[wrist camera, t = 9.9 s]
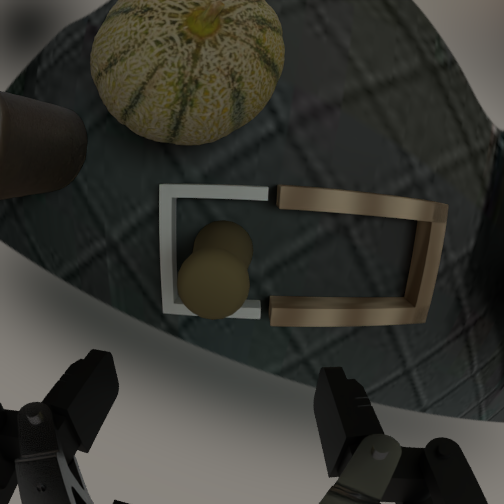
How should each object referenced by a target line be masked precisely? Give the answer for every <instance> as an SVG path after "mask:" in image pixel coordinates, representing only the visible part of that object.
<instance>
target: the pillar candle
mask: <svg viewBox="0 0 504 504" xmlns="http://www.w3.org/2000/svg"><path fill="white" fill-rule="evenodd" d="M86 150H87V133H86V129H85V126H84V123H83V121H82V120H81V118H80V117H79V116H78V114H77V113H75V112H74V111H72V110H70V109H67V108H64V107H60V106H57V105H53V104H49V103H45V102H42V101H38V100H34V99H30V98H26V97H23V96H18V95H14V94H10V93H6V92H1V91H0V200H3V199H8V198H14V197H21V196H26V195H32V194H39V193H45V192H52V191H55V190H59V189H61V188H64V187H65V186H67V185H69V183H70V182H72V181H73V180H74V179H75V177H76V176H77V175H78V173H79V171H80V169H81V168H82V166H83V163H84V161H85V157H86Z"/></svg>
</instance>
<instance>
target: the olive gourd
mask: <svg viewBox="0 0 504 504" xmlns="http://www.w3.org/2000/svg"><path fill="white" fill-rule="evenodd" d="M252 255H253V245H252V241H251V239H250V237H249V234H248V233H247V232H246V231H245V230H244V229H243V228H242V227H241V226H239V225H237V224H236V223H234V222H230V221H224V220H222V221H215V222H212V223H210V224H208V225H206V226H205V227H204V228H203V229H202V230H201V231H200V232H199V233H198V235H197V237H196V239H195V241H194V247H193V253H192V254H191V255H190V256H189V257H188V258H187V259H186V260H185V261H184V262H183V264H182V266H181V268H180V270H179V272H178V278H177V289H178V293H179V297H180V299H181V300H182V302H183V304H184V305H185V306H186V307H187V308H188V309H189V310H190V311H191V312H192V313H194V314H196V315H198V316H200V317H202V318H207V319H212V320H213V319H223V318H226V317H228V316H230V315H233V314H234V313H235V312H236V311H237V310H239V309H240V308H241V307H242V305H243V303H244V302H245V300H246V298H247V297H248V292H249V287H250V283H249V275H248V271H247V269H248V267H249V264H250V262H251V260H252Z"/></svg>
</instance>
